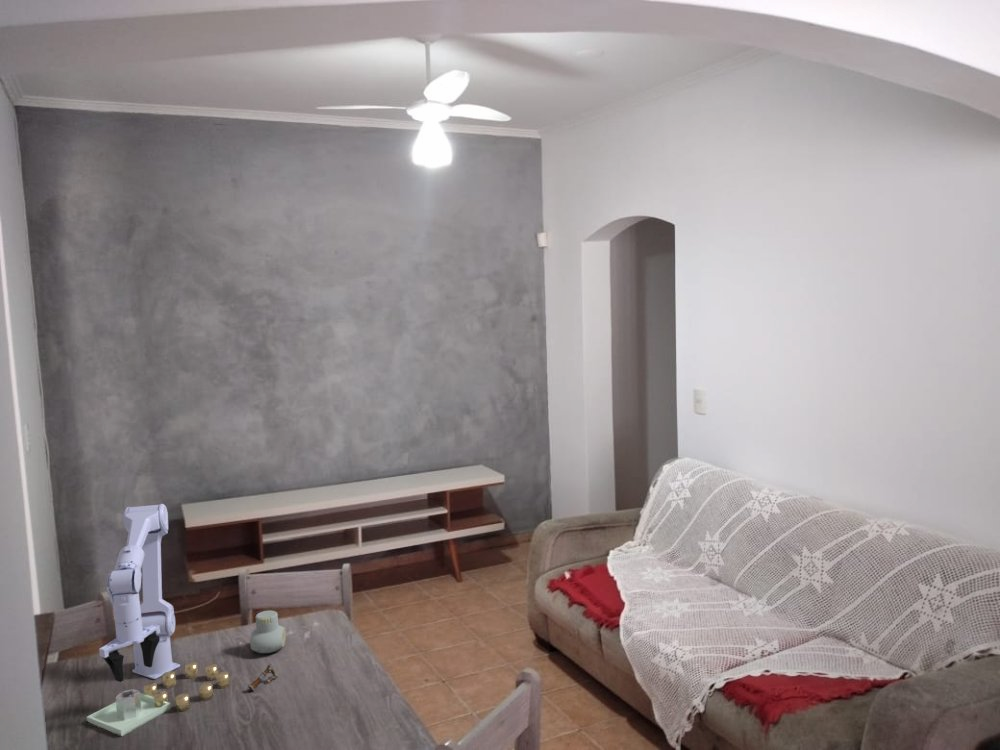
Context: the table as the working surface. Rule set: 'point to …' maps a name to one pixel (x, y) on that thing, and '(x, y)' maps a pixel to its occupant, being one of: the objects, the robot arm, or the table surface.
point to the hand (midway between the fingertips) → (134, 673)
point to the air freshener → (267, 633)
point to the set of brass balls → (183, 699)
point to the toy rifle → (262, 676)
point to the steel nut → (128, 704)
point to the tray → (121, 727)
